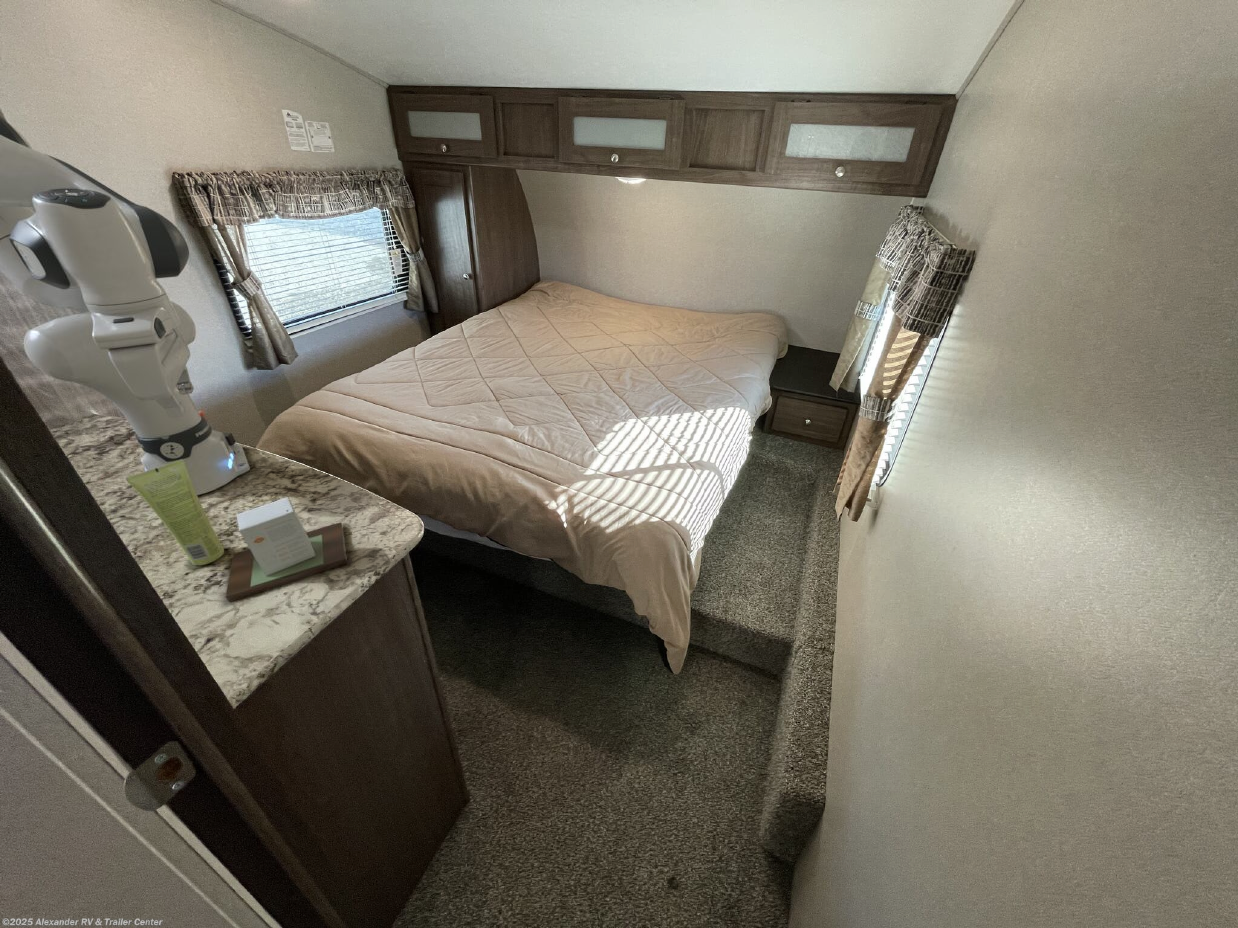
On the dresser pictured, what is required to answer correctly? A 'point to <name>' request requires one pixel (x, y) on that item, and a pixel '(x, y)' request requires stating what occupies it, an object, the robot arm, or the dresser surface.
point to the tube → (179, 510)
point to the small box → (275, 536)
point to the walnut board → (253, 580)
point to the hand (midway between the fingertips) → (183, 403)
